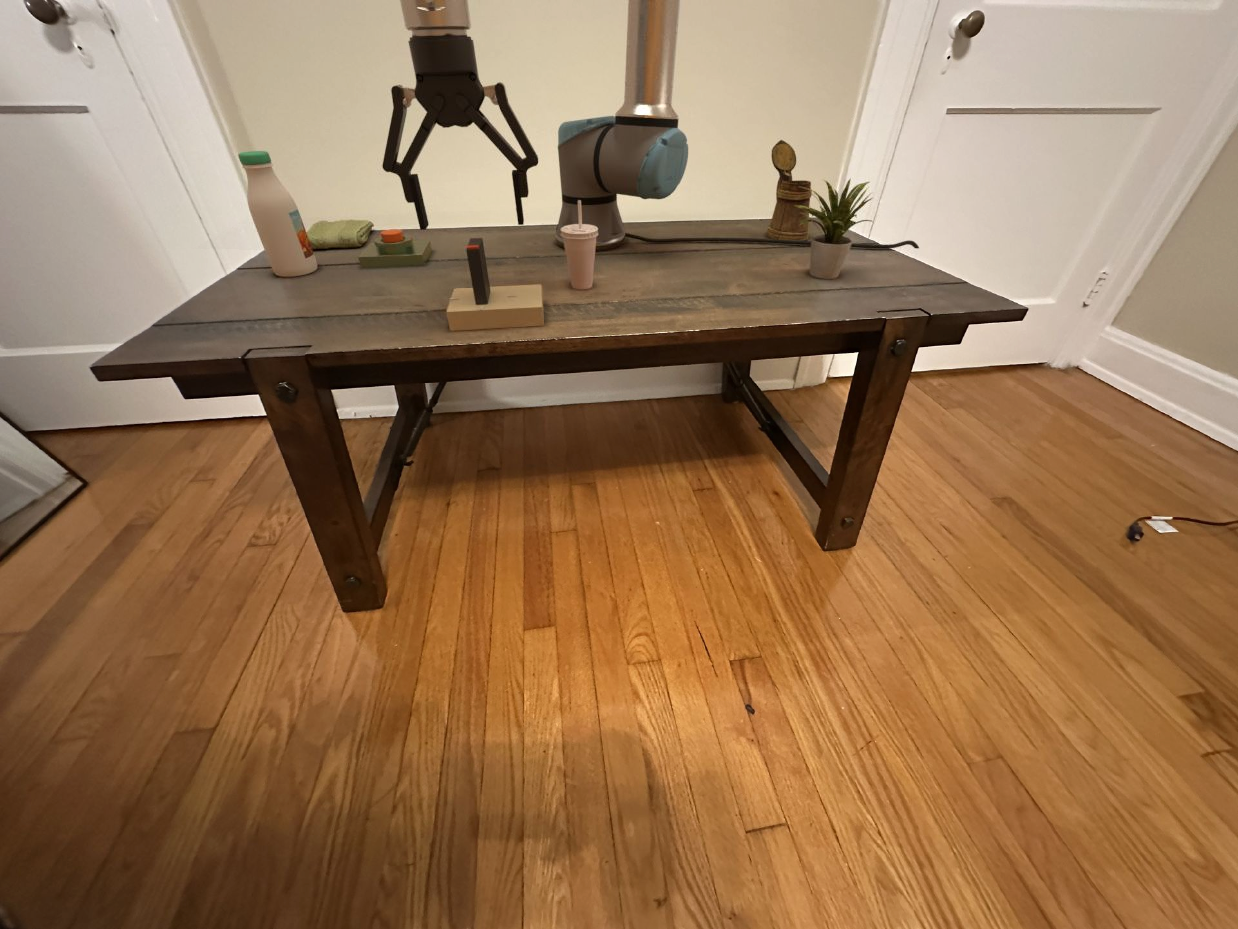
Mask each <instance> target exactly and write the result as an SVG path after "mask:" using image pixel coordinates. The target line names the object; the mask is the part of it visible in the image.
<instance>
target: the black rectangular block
mask: <svg viewBox="0 0 1238 929" xmlns="http://www.w3.org/2000/svg"><path fill="white" fill-rule="evenodd" d="M484 246H485V245H484V239H483V237H474V238H473V237H471V238H469V241H468V244H467V246H466V251H465V252H466V256H467V262H468V268H469V274H470V280H471V285H472V288H473V292H474V297H475V303H476V305H482V304H488V301H489V295H490V287H491V285H490V279H489V272H488V266H487V258H486V252H485V247H484Z"/></svg>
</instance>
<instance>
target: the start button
mask: <svg viewBox="0 0 1238 929" xmlns="http://www.w3.org/2000/svg"><path fill="white" fill-rule="evenodd" d="M403 235H404V233H403V230H402V229H400V228H399V229H396V228H392V229H385V230H382V231H380V237H382V240H383V242H397V241H402V240H404V237H403Z"/></svg>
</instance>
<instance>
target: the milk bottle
mask: <svg viewBox="0 0 1238 929" xmlns="http://www.w3.org/2000/svg"><path fill="white" fill-rule="evenodd" d="M237 154H238V156H237V157H238V159H239V162H240V163H241V165H242V168H243V169H244V171H245V174H246V178H247V179H246V180H247V194H246V195H247V196H246V198H247V199H246V200H247V206H248V210H249V213H250V216H251V219H252V221H253V224H254V227H255V230H256V232H257V235H258V236H259V237H258V238H259V239H260V242H261V244H262V247H263V249H264V253H265V255H266V258H267V259H268V262H269V264H270V267H271V270H272V272H273V273H274V274H275V275H276V276H278V277H284V278H285V277H286V278H289V277H300V276H304V275H308V274H310V273H313V272H316V271H317V270H318V262H317V259H316V256H315V252H314V249H313V250H312V247H311V244H310V242H309V239H308V236H307V233H306V232H307V230H306V228H305V225H304V224H305V223H304V222H303V219H302V215H301V214H300V211H299V207H298V206H297V204H296V202H295V200H294V198H293V195H291V193H290V191H289V190H288V189H287V188H286V186H284V184H283V183H282V182H281V181H280V179H279V177H278V176H277V174H276V173H275V171H274V169H273V166H274V165H273V162H272V159H271V156H270V153H269V152H268V151H266V150H251V151H250V150H249V151H243V152H238V153H237Z"/></svg>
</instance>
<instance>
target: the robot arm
mask: <svg viewBox="0 0 1238 929" xmlns="http://www.w3.org/2000/svg"><path fill="white" fill-rule="evenodd" d="M627 1H628V3H627V26H626V27H627V28H626V47H625V48H626V49H625V50H626V51H625V69H624V70H625V73H624V97H623V104H622V105H621V107H620V108H619V109H618V110H617V111H616V112H615V114H614V115H605V116H599V117H591V118H583V119H576V120H569V121H564V122H562V123H561V124H560V125H559V127H558V130H557V137H558V138H557V143H558V144H557V154H558V165H559V176H560V177H559V179H560V191H561V210H560V214H559V218H558V222H557V225H556V227H555V241H556V245H558V246H559V247H561V248H562V249H565V247H564V241H563V237H562V236H561V228H562V227H564V226H567V225H572V224H579V220H578V201H579V200H580V201H581V212H582V224H589V225H593V226H596V227H597V228H598V236H596V247H595V252H599V251H600V252H601V251H608V250H613V249H616V248H619V247H622V246H623V245H624V244H625V243H626V238H630V239H633V240H638V241H642V242H644V243H651V244H653V243H655V244H667V243H701V242H702V243H703V242H705V243H706V242H708V243H709V242H711V243H712V242H716V243H717V242H722V243H723V242H724V243H725V242H728V243H759V244H782V245H783V244H784V245H797V246H798V245H801V246H811V240H804V241H798V240H779V239H771V238H753V237H752V238H751V237H673V238H672V237H671V238H649V237H645V236H641V235H638V234H633V233H628V232H626V230H625V226H624V222H623V219H622V216H621V214H620V213H621V212H620V209H619V205H618V195H621V196H628V197H636V198H639V199H642V200H649V199H651V200H663V199H665V198H666V199H667V198H668V197H669V196H671V195H672V194H673V193H674V192H675V191H676V190H677V188H678V186H679V185H680V183H681V181H682V179H683V178H684V175H685V171H686V169H687V164H688V158H689V144H688V138H687V136H686V134H685V132H684V131H682V130H681V129H680V128H679V119H680V117H679V115H678V114H677V113H676V111H675V109H674V107H673V106H672V104H673V92H674V81H675V80H674V79H675V68H676V66H675V65H676V56H677V42H678V33H679V32H678V31H679V19H680V8H681V0H627ZM399 2H400V7H401V13H402V17H403V22H404V27H405V29H406V30H407V31H410V32H411V37H409V40H408V41H407V42H408V47H409V52H410V56H411V62H412V66H413V72H414V76H415V87H408V86H403V85H402V84H397V85H392V87H391V89H390V93H391V98H392V106H393V108H392V112H391V117H390V124H389V128H388V135H387V139H386V145H385V148H384V154H383V160H382V166H381V167H382V169H383V171H385V172H386V173H391V174H394V175H397V177H398V178H399V180H400V183H401V187H402V191H403V194H404V199H405V201H406V202H407V204H412V203H413V205H414V209H415V213H416V217H417V221H418V226H419V230H420V231H424V230H425V231H426V230H427V229H428V227H429V225H430V223H429V219H428V215H427V209H426V205H425V202H424V197H423V192H422V188H421V183H420V178H419V175H418V174H419V173H412V170H413V168H414V166H415V164H416V162H417V160H418V159H419V157H420V154H421V153H422V151H423V150H424V147H425V145H426V143H427V142H428V139H429V137H430V136H431V134H432V132H433V131H434V129H435V126H436V125H438V126H439V127H442V128H443V129H444V128H445V129H447V128H451V127H455V126H456V127H459V128H468V127H469V126H471V125H472V124H474V125H475V126H476V127H477V128H478V129H479V130H480V131H481V132H482V133H483V134H484V135H485V136H486V137H487V138H488V140H489V141H490V142H491V143H492V144H493V145H494V146H495V147H496V148H497V150H498V151H499V152H500V153H501V154H502V155H503V156H504V157H505V158H506V160H507V161H508V162H509V163H510V164H511V165H512V167H514V168H515V169H512V170H511V178H512V185H513V195H514V202H515V203H514V204H515V210H516V218H517V225H518V226H523V225H525V224H524V223H525V220H524V210H523V202H522V199H525V198H528V197H529V182H528V175H527V174H528V173H527V172H528V171H529V170H530V169H531V168H534V167H537V166H538V164H539V156H538V154H537V152H536V151H535V148H534V147H533V145H532V143H531V141H530V139H529V138H528V136H527V134H526V132H525V130H524V129H523V127H522V125H521V123H520V120H518V117H517V115H516V114H515V112H514V110H513V108H512V106H511V104H510V103H509V99H508V94H507V89H506V86H505V84H504V82H501V81H498V82H497V83H496V84H491V85H485V86H483V85H482V82H481V80H480V77H479V71H478V64H477V57H476V50H475V43H474V39H472V37H471V36H470V35H469V36H468V31H469V30H471V28H472V23H471V22H472V21H471V16H470V8H469V1H468V0H399ZM485 97H487V98H488V99H490V102H491V103H492V104H493V105H494V106H498V108H499V110H500V113H501V114H502V116H503V118H504V120H505V122H506V123H507V125H508V127H509V129H510V130H511V133H512V135H513V136H514V138H515V140H516V141H517V143H518V145H519V147H520V149H521V151H522V152H523V154H524V156H525V157H523V158H522V157H521V156H520V155H519V153H518V152H517V151H516V150H515V148H513V146H512V145H511V144H510V143H509V142H508V141H507V140H506V139H505V137H504V136H503V134H501V133H500V132H499V131H498V129H497V128H496V127H495V126H494V125H493V123H491V121H489V118H487V116H486V115H485V114H484V113H483V112H482V110H480V109H481V108H482V105H483V103H484V101H485V99H486V98H485ZM414 99H415V100H416V101H417V102H418V104H419V105H421V107H422V108H423V109H424V110H425V112H426V113H425V115H424V118H423V119H422V121H421V123H420V126H419V127H418V129H417V132H416V134H415V136H414V137H413V140H412V141H411V143H410V145H409V147H408V149H407V151H406V153H405V155H404V157H403V159H402V161H401V162H399V161H398V157H399V153H400V147H401V142H402V138H403V133H404V128H405V123H406V118H407V114H408V109H409V108H410V107H412V105H413V100H414ZM907 245H909V246H912V248H914V249H920V246H919V245H918V244H917V243H916V242H915V241H914V240H911V239H910V240H904V241H900V242H896V243H893V244H892V243H890V244H879V243H877V244H874V243H854V242H852V245H851V247H850V248H857V249H881V250H883V249H887V250H888V249H897V248H900V247H903V246H907Z"/></svg>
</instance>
